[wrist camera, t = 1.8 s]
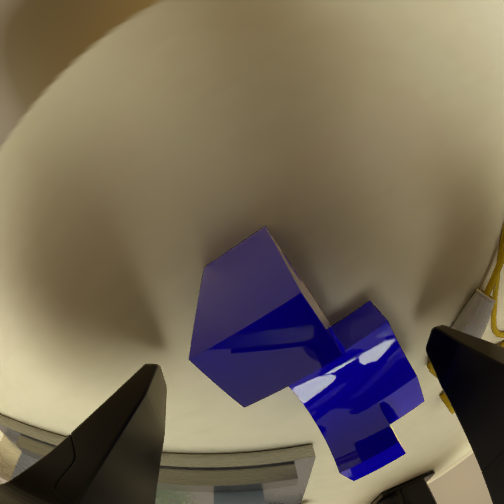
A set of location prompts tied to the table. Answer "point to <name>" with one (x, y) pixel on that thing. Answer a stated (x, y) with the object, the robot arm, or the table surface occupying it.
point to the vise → (182, 468)
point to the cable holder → (303, 353)
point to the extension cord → (479, 311)
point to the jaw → (239, 497)
